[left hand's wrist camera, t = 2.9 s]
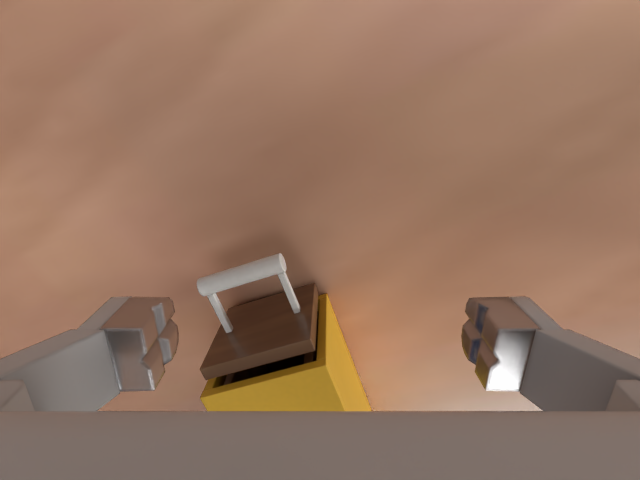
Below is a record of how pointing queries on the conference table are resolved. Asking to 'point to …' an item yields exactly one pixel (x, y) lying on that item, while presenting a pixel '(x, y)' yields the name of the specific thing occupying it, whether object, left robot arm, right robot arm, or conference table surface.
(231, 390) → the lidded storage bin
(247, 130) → the conference table surface
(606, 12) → the conference table surface
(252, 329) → the drawer
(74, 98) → the conference table surface
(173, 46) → the conference table surface
